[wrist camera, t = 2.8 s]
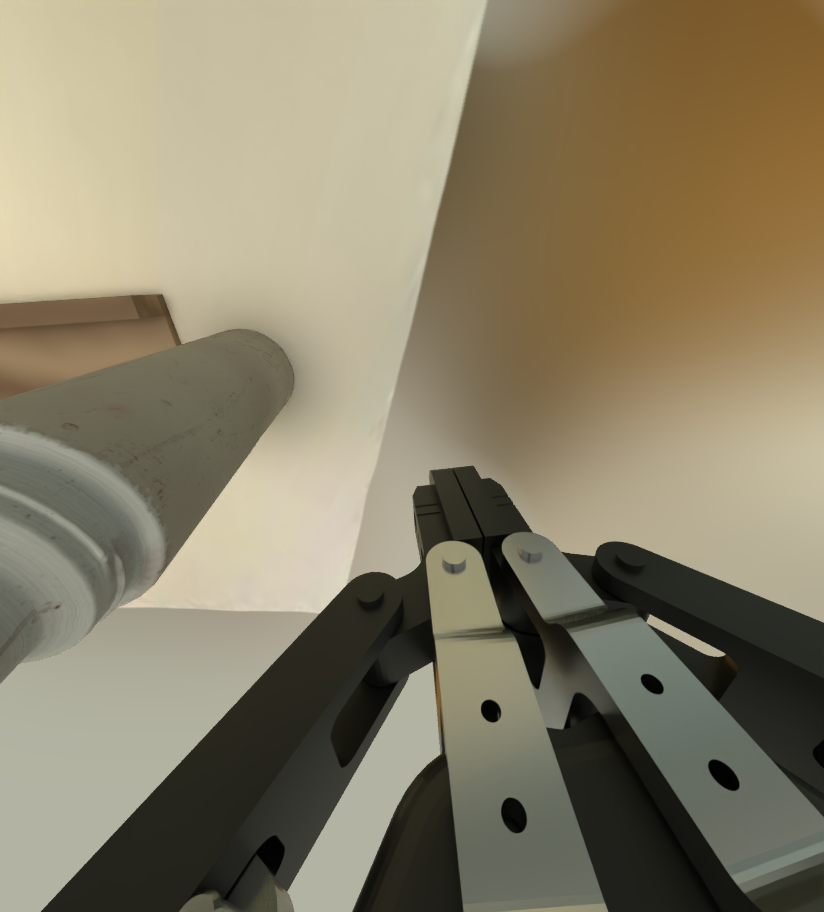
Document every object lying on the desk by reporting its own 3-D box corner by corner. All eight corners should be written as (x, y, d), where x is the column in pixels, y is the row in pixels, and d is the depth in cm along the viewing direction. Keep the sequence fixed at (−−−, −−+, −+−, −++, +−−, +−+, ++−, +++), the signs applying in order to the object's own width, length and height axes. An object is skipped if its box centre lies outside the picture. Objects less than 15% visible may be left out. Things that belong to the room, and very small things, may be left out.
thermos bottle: (197, 398, 31) (-498, 849, 6) (209, 313, 28) (-1101, 530, 3) (283, 425, 33) (27, 838, 8) (303, 349, 30) (-13, 644, 5)
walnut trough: (-138, 314, 25) (-220, 318, 22) (162, 294, 27) (130, 295, 23) (-16, 470, 32) (-64, 494, 28) (219, 447, 33) (201, 466, 30)
